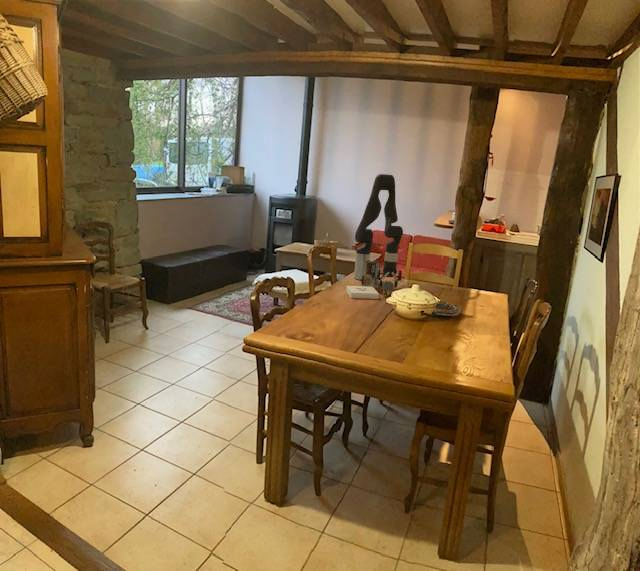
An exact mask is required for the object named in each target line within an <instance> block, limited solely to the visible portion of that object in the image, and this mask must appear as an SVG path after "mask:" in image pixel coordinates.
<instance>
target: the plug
mask: <svg viewBox="0 0 640 571" xmlns="http://www.w3.org/2000/svg"><path fill="white" fill-rule="evenodd" d="M382 281H383V283H382V287H381V288H382V294H383V295H384V294H386V296H390V294H391V292H393V291H394V288H395V287H394V283H395V282H393V281H391V280H385V281H384V280H382Z"/></svg>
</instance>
